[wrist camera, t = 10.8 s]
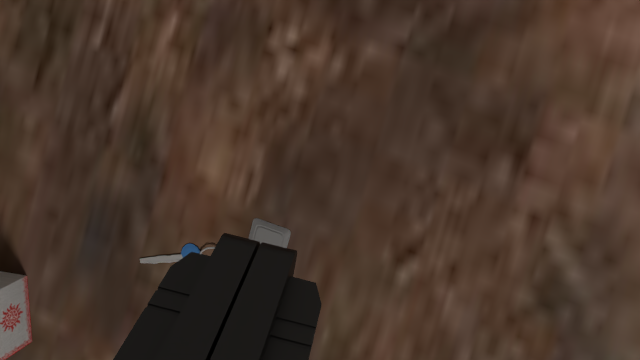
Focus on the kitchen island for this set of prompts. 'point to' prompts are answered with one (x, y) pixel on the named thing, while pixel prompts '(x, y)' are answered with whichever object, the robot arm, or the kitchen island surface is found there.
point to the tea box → (14, 314)
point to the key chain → (258, 232)
